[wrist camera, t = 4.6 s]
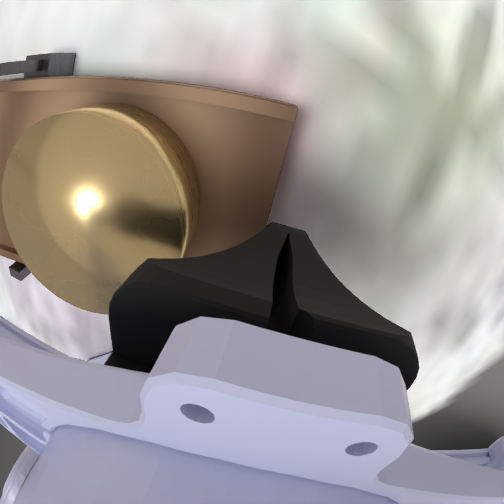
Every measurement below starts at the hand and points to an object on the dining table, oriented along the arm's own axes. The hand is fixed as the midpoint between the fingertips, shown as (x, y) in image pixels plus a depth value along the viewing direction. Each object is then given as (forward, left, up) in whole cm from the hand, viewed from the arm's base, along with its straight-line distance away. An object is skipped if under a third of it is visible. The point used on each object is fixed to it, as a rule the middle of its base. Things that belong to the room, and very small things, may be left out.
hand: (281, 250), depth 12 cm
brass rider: (+5, +5, -1) cm, 8 cm away
